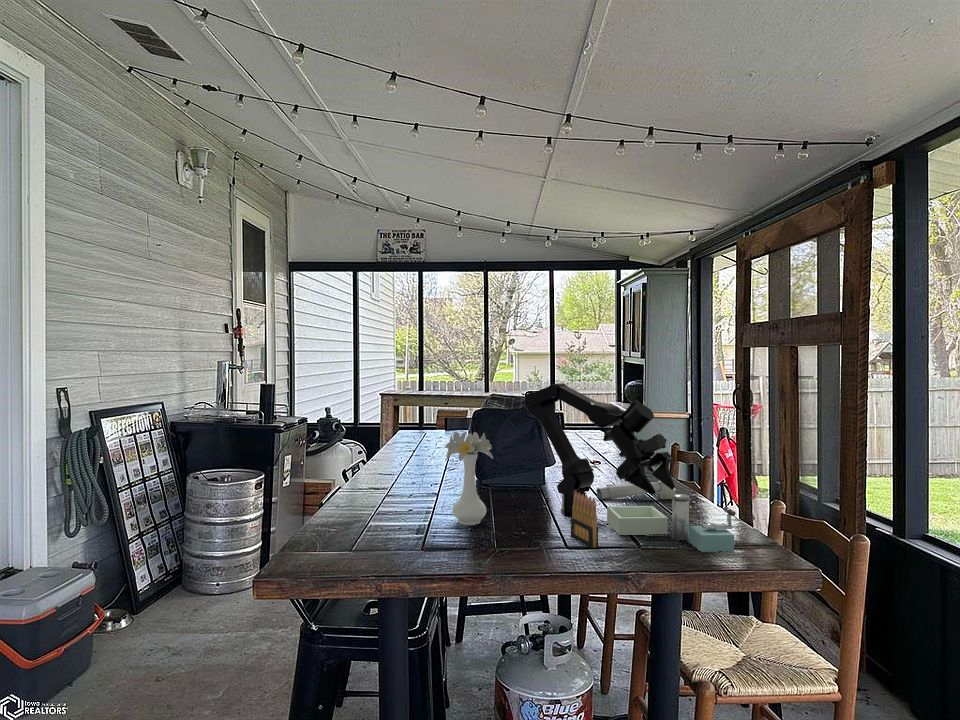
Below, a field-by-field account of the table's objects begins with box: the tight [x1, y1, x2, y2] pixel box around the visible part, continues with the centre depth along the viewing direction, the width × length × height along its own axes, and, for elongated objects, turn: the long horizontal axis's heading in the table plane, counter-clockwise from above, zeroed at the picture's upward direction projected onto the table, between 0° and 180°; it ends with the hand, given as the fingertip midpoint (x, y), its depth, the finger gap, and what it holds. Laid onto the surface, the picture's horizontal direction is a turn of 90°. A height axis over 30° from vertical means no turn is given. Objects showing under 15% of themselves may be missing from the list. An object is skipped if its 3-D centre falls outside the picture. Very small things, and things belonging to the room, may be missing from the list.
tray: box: [606, 505, 669, 536], centre depth 180 cm, size 13×13×4 cm
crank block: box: [688, 525, 735, 553], centre depth 165 cm, size 8×8×4 cm
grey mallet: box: [596, 479, 677, 501], centre depth 215 cm, size 5×7×25 cm
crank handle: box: [701, 506, 736, 531], centre depth 165 cm, size 7×5×5 cm
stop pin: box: [671, 493, 691, 541], centre depth 171 cm, size 4×4×11 cm
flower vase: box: [444, 431, 494, 526], centre depth 186 cm, size 13×18×25 cm
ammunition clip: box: [570, 491, 599, 550], centre depth 168 cm, size 11×2×12 cm, turn 21°
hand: (664, 491), depth 175 cm, fingers open, 9 cm apart
